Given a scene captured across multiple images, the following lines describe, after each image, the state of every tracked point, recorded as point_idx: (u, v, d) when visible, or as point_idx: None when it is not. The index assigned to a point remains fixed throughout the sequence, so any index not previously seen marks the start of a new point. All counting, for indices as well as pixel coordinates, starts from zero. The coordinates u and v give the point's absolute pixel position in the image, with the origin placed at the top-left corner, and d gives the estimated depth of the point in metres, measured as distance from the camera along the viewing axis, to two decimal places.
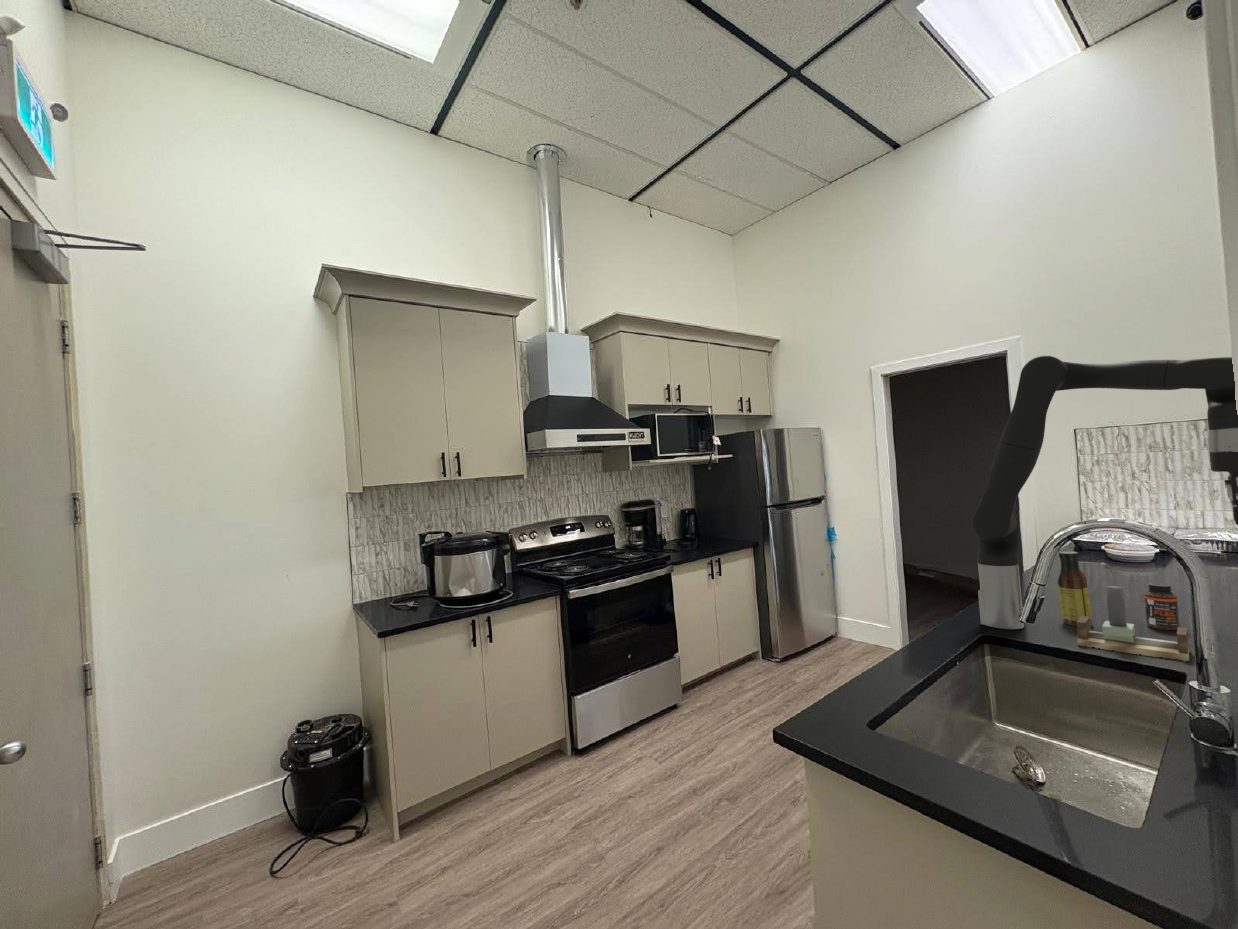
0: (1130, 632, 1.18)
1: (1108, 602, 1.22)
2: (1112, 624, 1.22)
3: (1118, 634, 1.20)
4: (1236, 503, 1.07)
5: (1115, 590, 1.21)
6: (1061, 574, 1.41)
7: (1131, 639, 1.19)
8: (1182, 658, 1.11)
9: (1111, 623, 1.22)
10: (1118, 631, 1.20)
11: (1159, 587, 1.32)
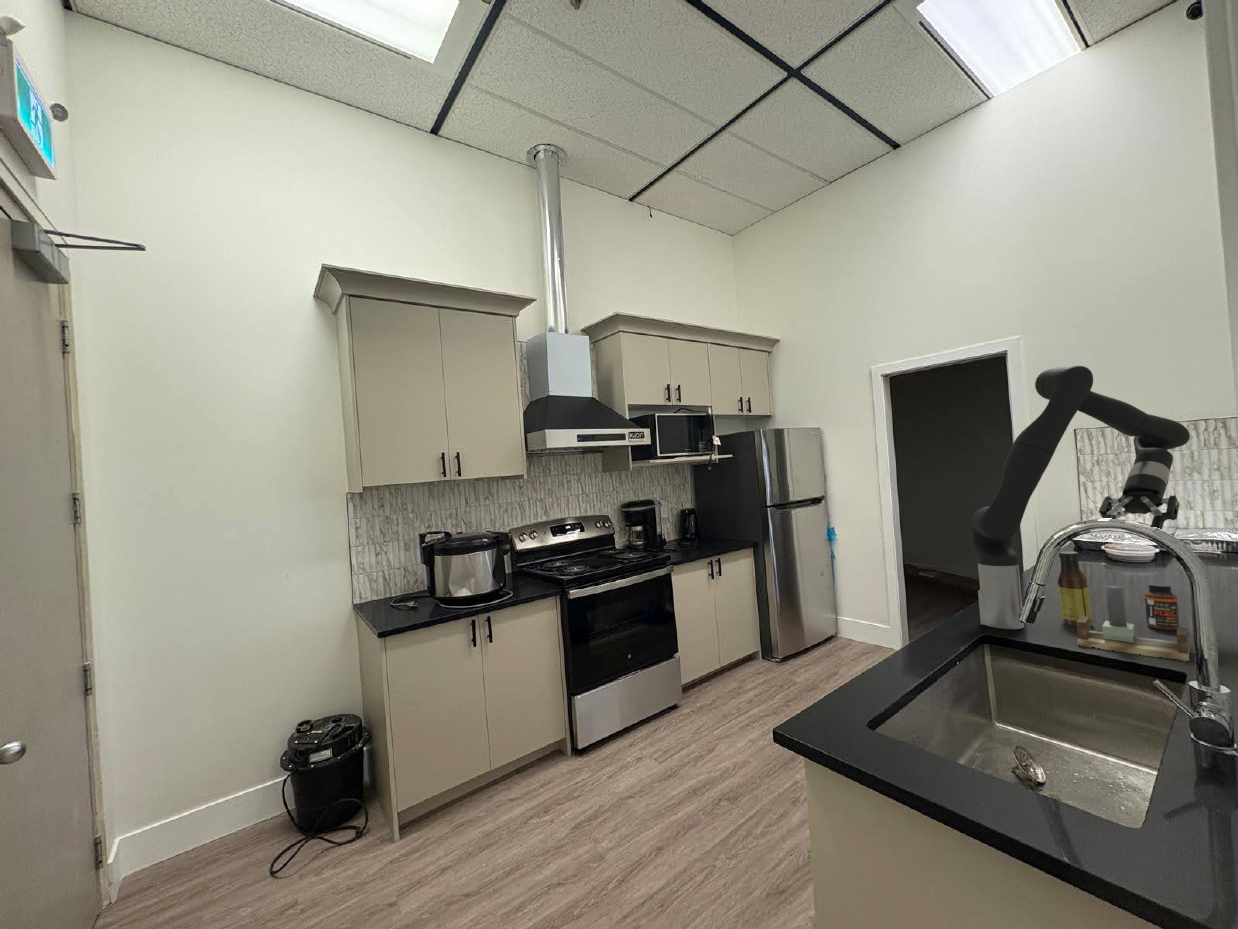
0: (1130, 632, 1.18)
1: (1108, 602, 1.22)
2: (1112, 624, 1.22)
3: (1118, 634, 1.20)
4: (1173, 513, 1.24)
5: (1115, 590, 1.21)
6: (1061, 574, 1.41)
7: (1131, 639, 1.19)
8: (1182, 658, 1.11)
9: (1111, 623, 1.22)
10: (1118, 631, 1.20)
11: (1159, 587, 1.32)
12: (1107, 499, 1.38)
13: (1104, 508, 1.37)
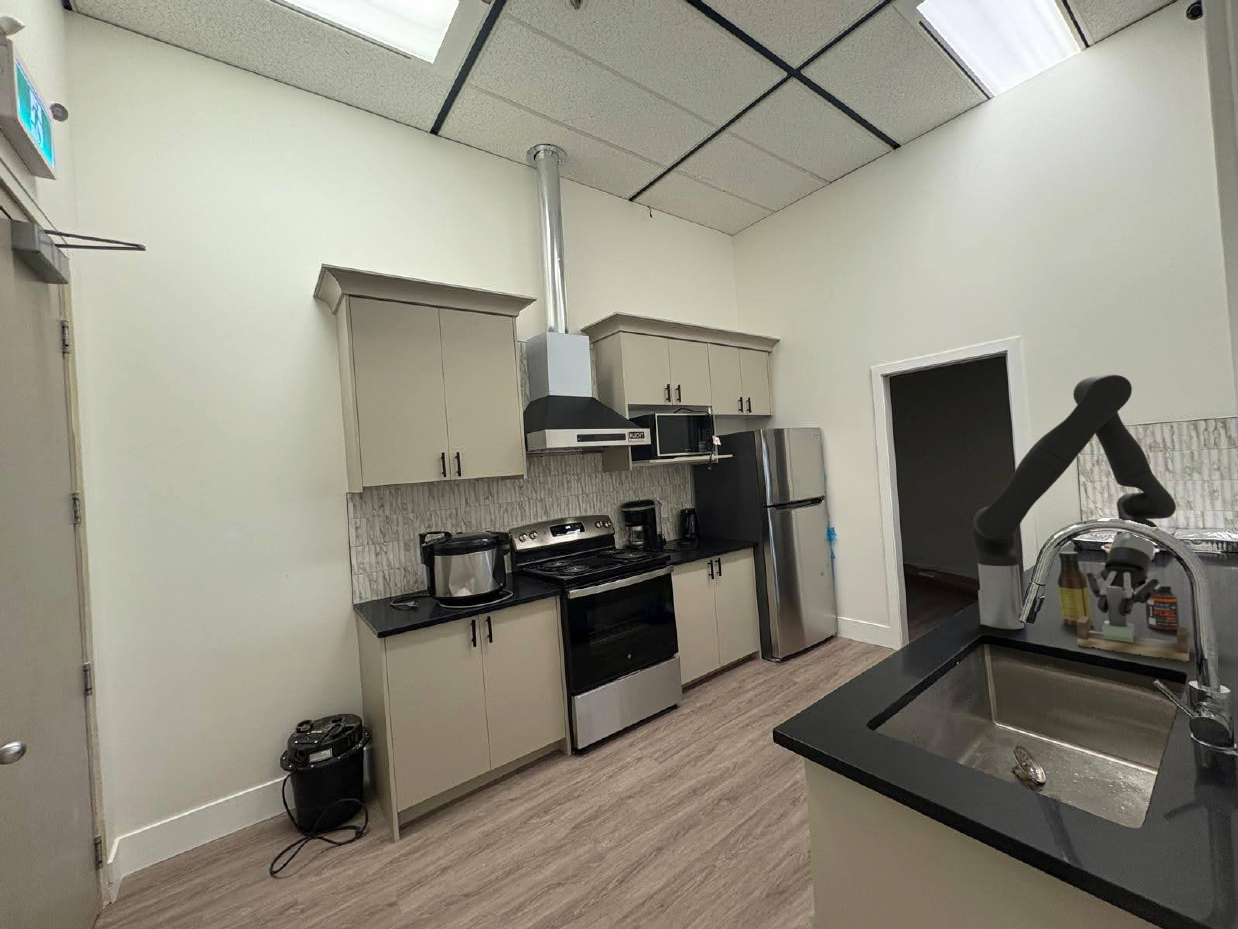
0: (1130, 632, 1.18)
1: (1108, 602, 1.22)
2: (1112, 624, 1.22)
3: (1118, 634, 1.20)
4: (1142, 597, 1.18)
5: (1115, 590, 1.21)
6: (1061, 574, 1.41)
7: (1131, 639, 1.19)
8: (1182, 658, 1.11)
9: (1111, 623, 1.22)
10: (1118, 631, 1.20)
11: None
12: (1090, 576, 1.29)
13: (1095, 586, 1.26)
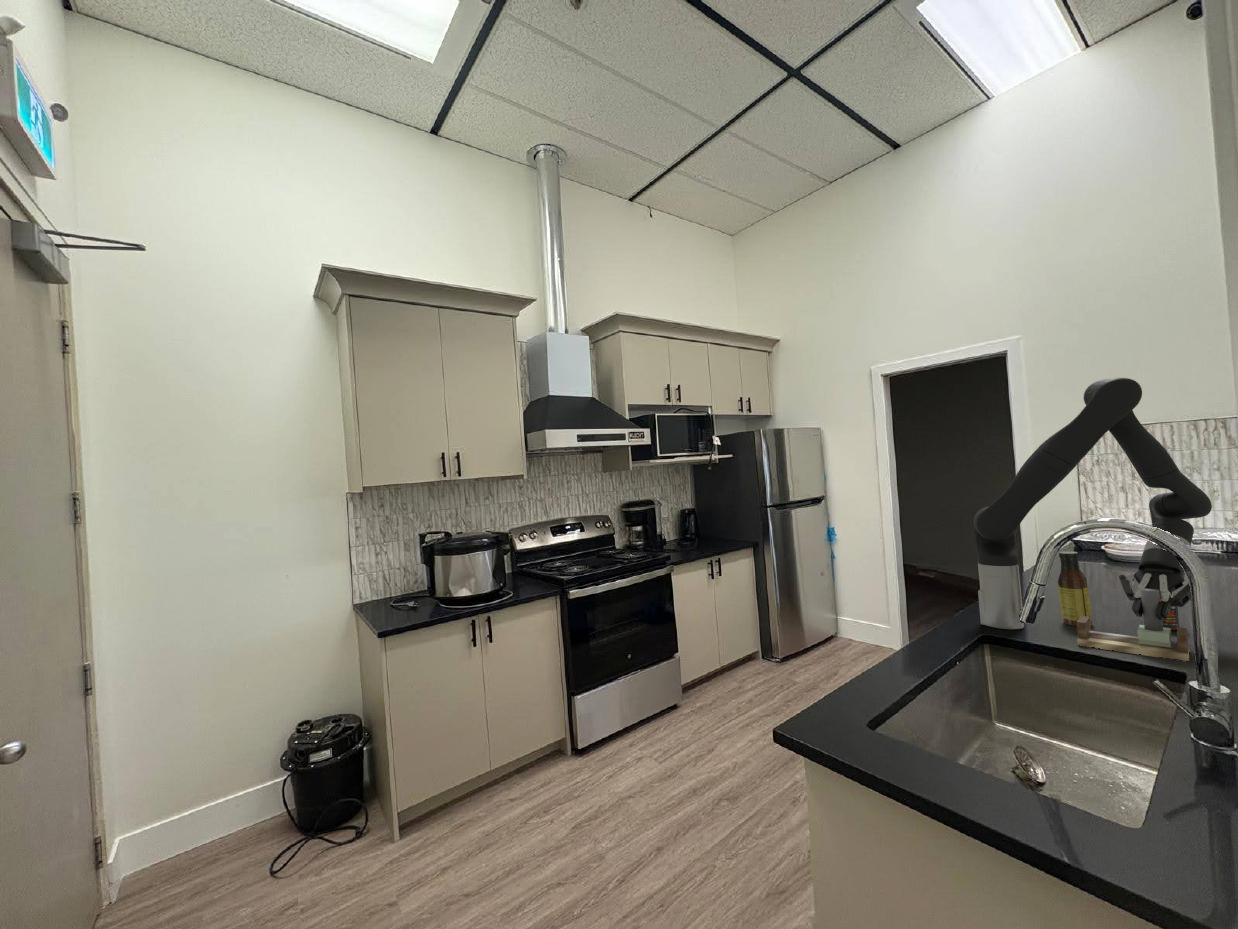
0: (1167, 637, 1.14)
1: (1143, 605, 1.18)
2: (1148, 628, 1.17)
3: (1154, 639, 1.15)
4: (1180, 600, 1.14)
5: (1151, 592, 1.17)
6: (1061, 574, 1.41)
7: (1168, 644, 1.14)
8: (1182, 658, 1.11)
9: (1146, 627, 1.17)
10: (1154, 636, 1.15)
11: None
12: (1123, 578, 1.24)
13: (1128, 589, 1.22)
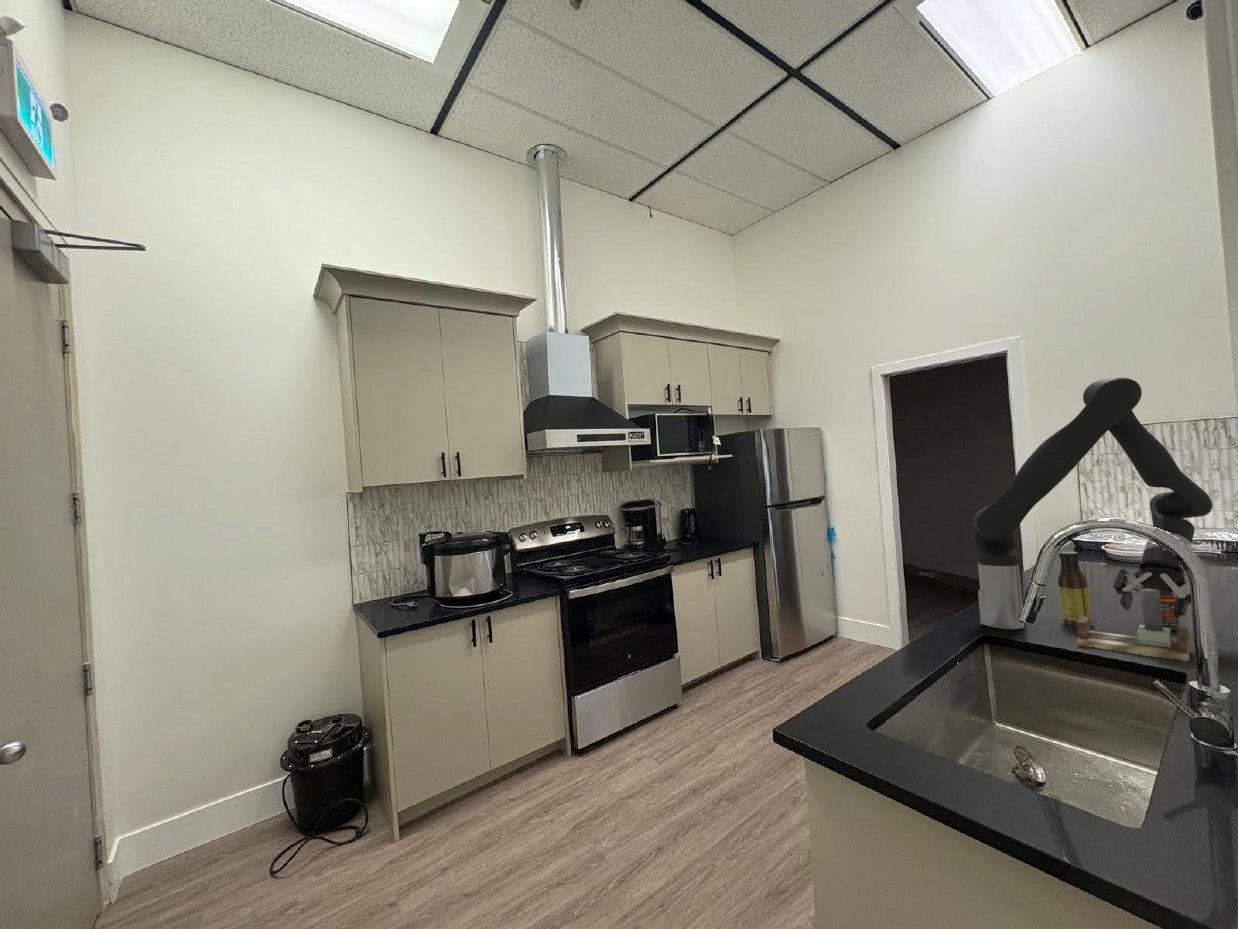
0: (1167, 637, 1.14)
1: (1143, 605, 1.18)
2: (1148, 628, 1.17)
3: (1154, 639, 1.15)
4: None
5: (1151, 593, 1.17)
6: (1061, 574, 1.41)
7: (1168, 644, 1.14)
8: (1182, 658, 1.11)
9: (1146, 627, 1.17)
10: (1154, 636, 1.15)
11: None
12: (1122, 572, 1.25)
13: (1119, 583, 1.24)
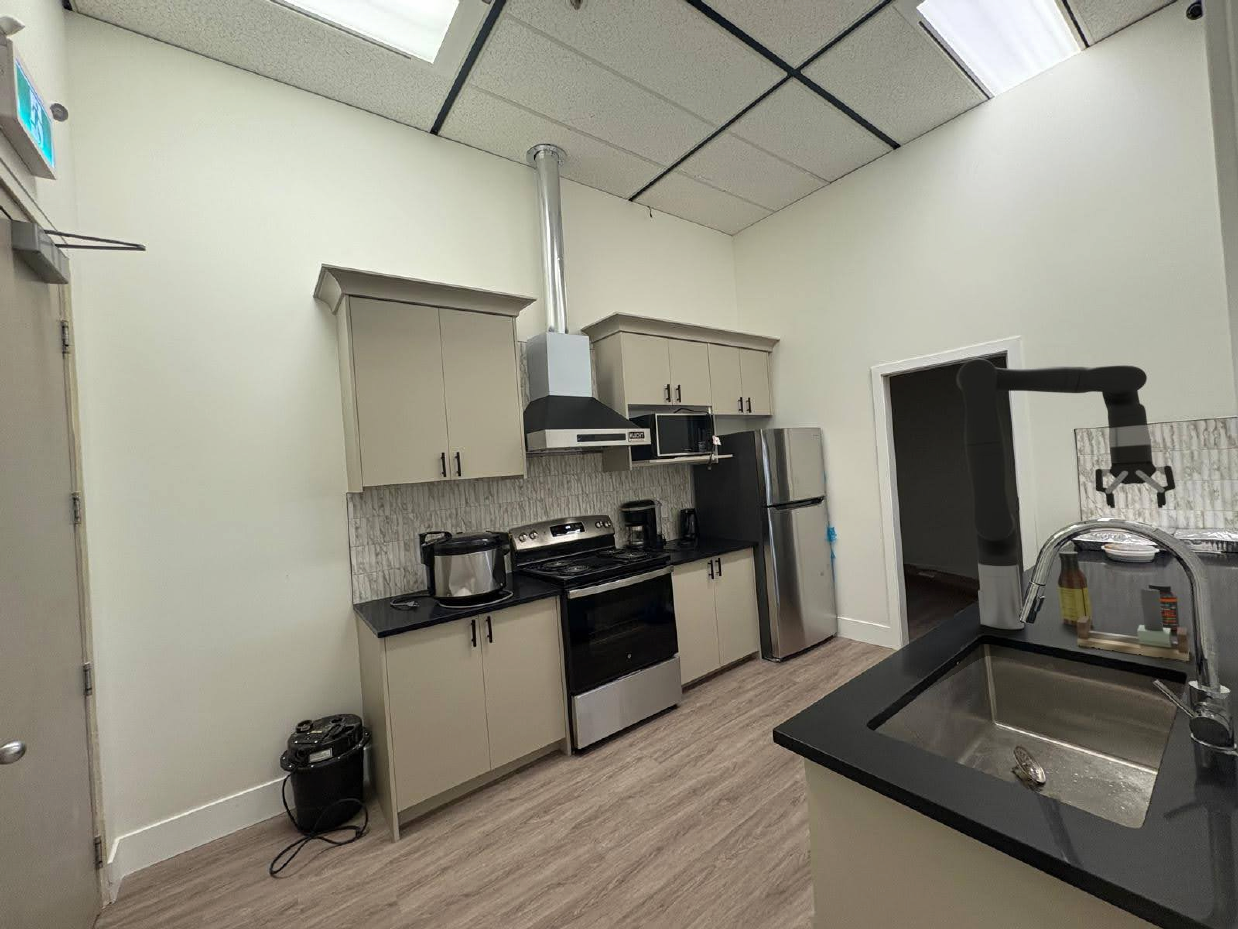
0: (1167, 637, 1.14)
1: (1143, 605, 1.18)
2: (1148, 628, 1.17)
3: (1154, 639, 1.15)
4: None
5: (1151, 593, 1.17)
6: (1061, 574, 1.41)
7: (1168, 644, 1.14)
8: (1182, 658, 1.11)
9: (1146, 627, 1.17)
10: (1154, 636, 1.15)
11: (1159, 587, 1.32)
12: (1099, 473, 1.34)
13: (1100, 485, 1.34)
